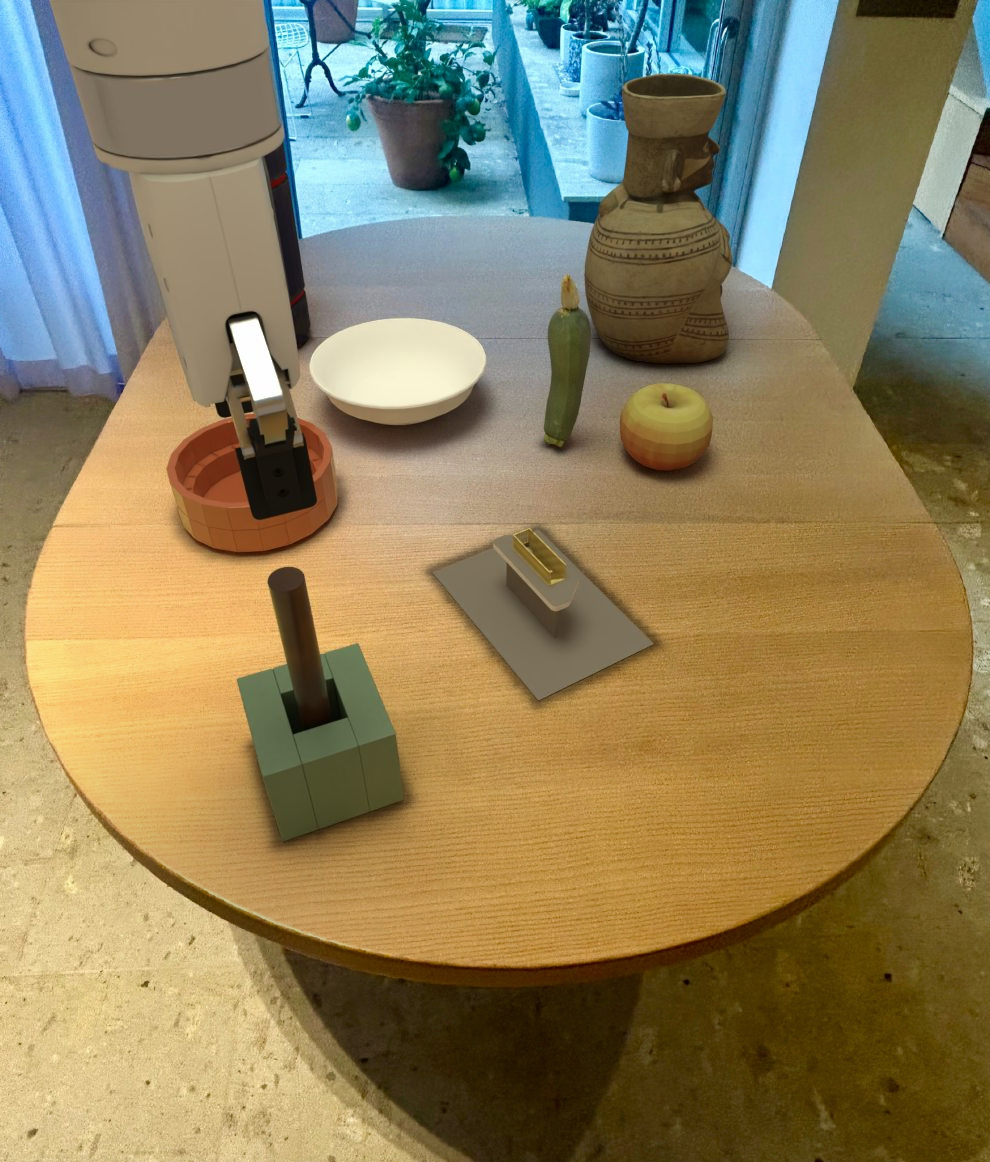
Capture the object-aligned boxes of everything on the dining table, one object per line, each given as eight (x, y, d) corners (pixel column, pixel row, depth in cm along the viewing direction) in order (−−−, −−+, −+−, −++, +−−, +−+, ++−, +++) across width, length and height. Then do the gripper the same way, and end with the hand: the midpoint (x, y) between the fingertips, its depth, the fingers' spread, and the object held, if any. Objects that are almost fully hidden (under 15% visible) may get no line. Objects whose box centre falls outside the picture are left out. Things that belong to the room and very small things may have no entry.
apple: (599, 463, 96) (605, 398, 90) (641, 421, 102) (649, 358, 96) (682, 494, 92) (694, 429, 86) (721, 449, 98) (734, 385, 92)
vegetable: (561, 429, 100) (572, 256, 87) (590, 445, 98) (606, 270, 84) (534, 445, 98) (541, 270, 84) (563, 461, 96) (575, 284, 82)
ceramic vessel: (747, 318, 120) (799, 69, 99) (703, 393, 106) (754, 121, 85) (614, 291, 126) (638, 51, 105) (556, 358, 112) (570, 97, 91)
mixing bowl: (195, 573, 83) (179, 524, 79) (172, 480, 93) (157, 432, 89) (357, 532, 87) (350, 483, 83) (317, 448, 98) (309, 401, 93)
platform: (538, 529, 88) (540, 475, 83) (654, 643, 76) (664, 588, 72) (431, 572, 83) (428, 517, 78) (538, 700, 72) (541, 645, 67)
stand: (282, 842, 62) (262, 777, 57) (256, 745, 69) (236, 678, 63) (404, 800, 65) (395, 733, 60) (368, 710, 71) (358, 642, 66)
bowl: (518, 426, 101) (519, 376, 96) (356, 477, 94) (349, 426, 89) (440, 350, 113) (438, 303, 109) (292, 390, 106) (283, 341, 102)
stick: (317, 788, 66) (271, 595, 52) (310, 765, 67) (263, 571, 53) (346, 778, 66) (308, 585, 53) (338, 756, 68) (299, 562, 54)
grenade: (208, 329, 117) (148, 75, 97) (293, 308, 122) (253, 62, 101) (240, 375, 109) (182, 108, 88) (331, 352, 113) (296, 92, 92)
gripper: (70, 62, 40) (170, 392, 52) (103, 192, 28) (222, 579, 40) (237, 45, 42) (296, 366, 54) (331, 158, 30) (380, 536, 42)
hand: (264, 457), depth 47 cm, fingers open, 9 cm apart
